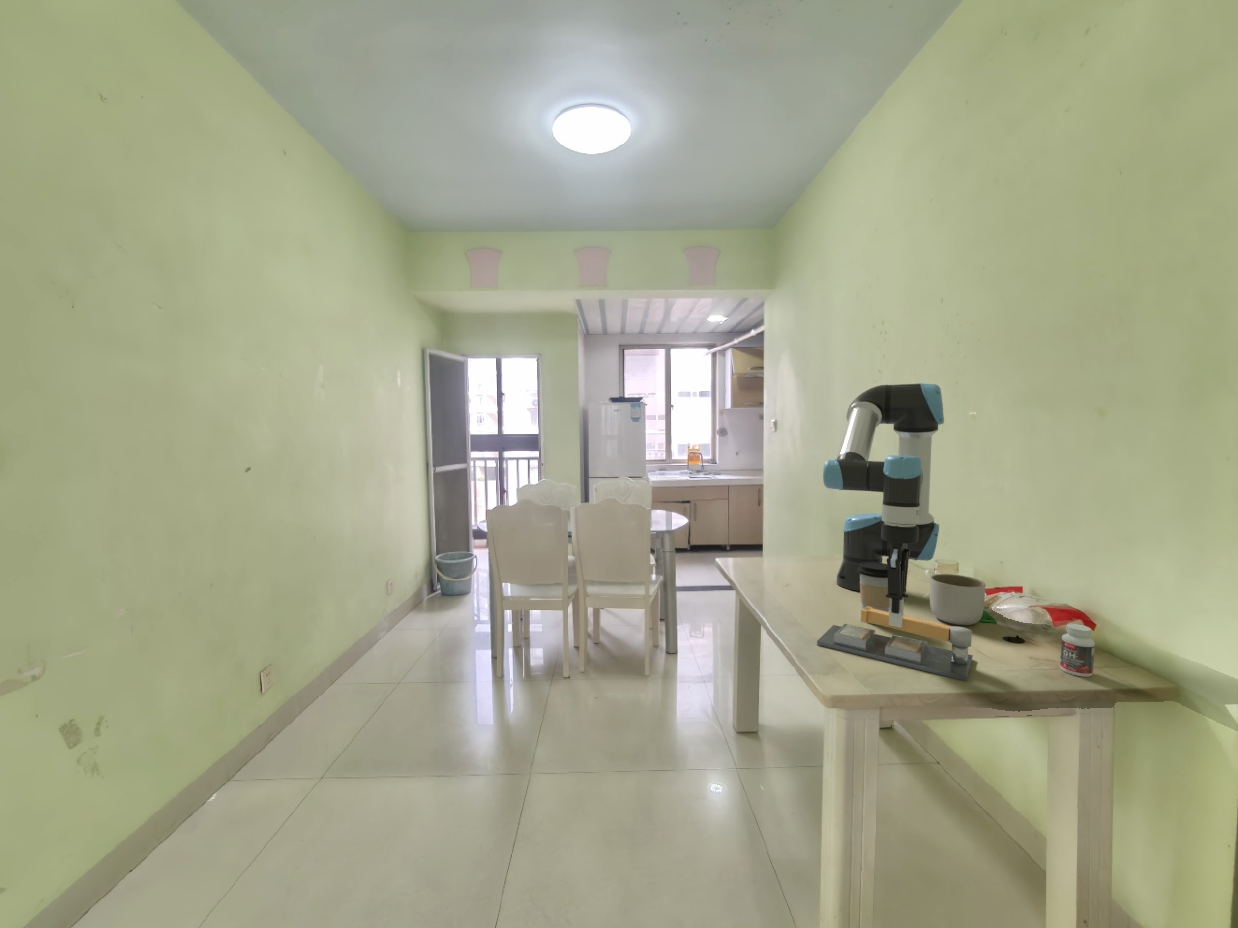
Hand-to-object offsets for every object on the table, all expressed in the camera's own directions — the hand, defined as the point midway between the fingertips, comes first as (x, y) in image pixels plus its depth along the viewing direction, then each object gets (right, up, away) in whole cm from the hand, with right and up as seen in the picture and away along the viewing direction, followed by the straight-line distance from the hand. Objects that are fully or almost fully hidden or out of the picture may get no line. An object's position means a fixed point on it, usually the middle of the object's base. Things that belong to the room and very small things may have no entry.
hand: (895, 625), depth 125 cm
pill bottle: (+33, -7, -9) cm, 36 cm away
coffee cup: (+5, -5, +20) cm, 21 cm away
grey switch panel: (-1, -6, 0) cm, 6 cm away
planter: (+27, -5, +21) cm, 34 cm away
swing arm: (+4, -1, -1) cm, 4 cm away
